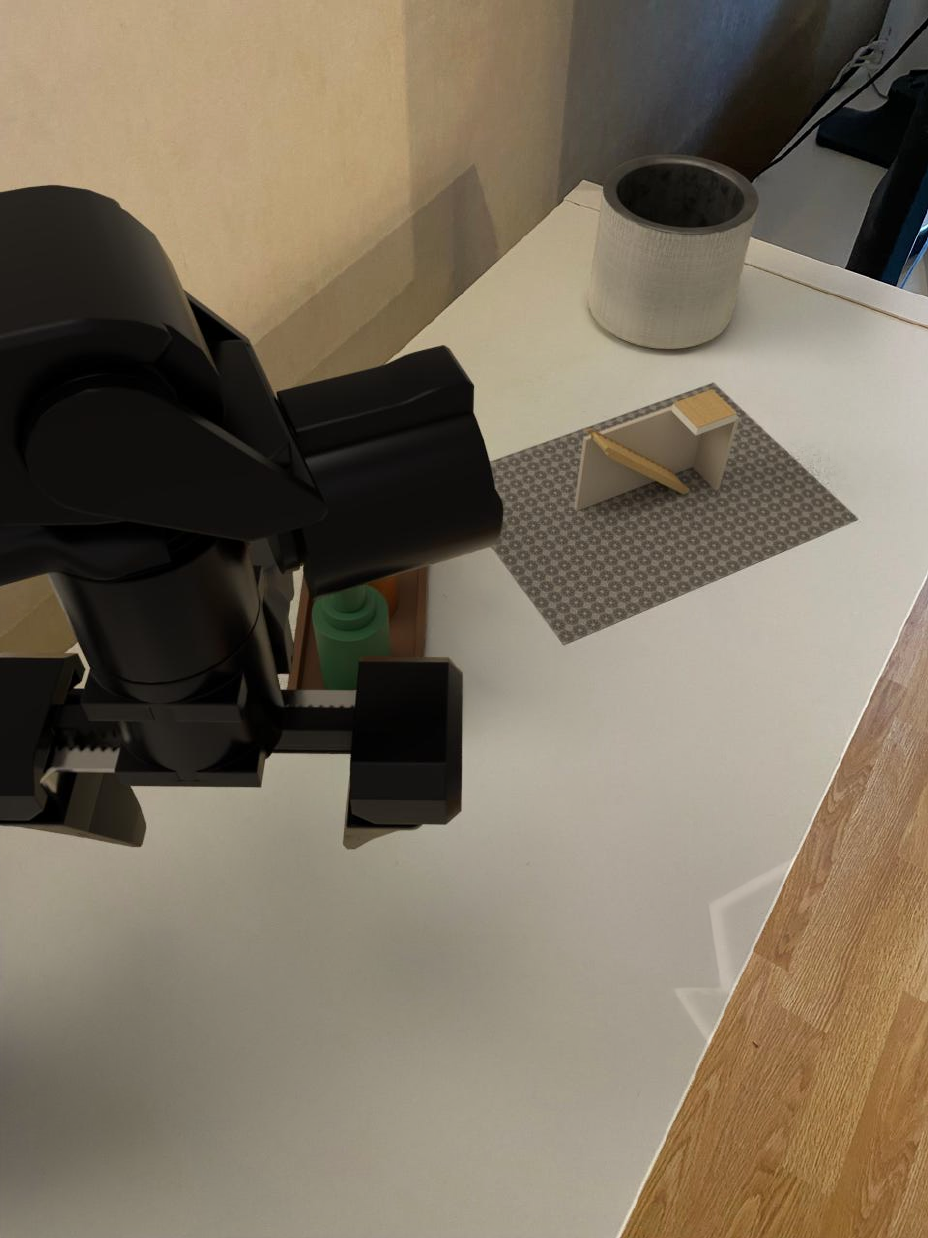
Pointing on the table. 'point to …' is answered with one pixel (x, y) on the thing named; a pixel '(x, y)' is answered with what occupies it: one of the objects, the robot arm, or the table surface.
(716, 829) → the table surface
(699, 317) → the planter
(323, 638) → the green bottle
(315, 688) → the tray
